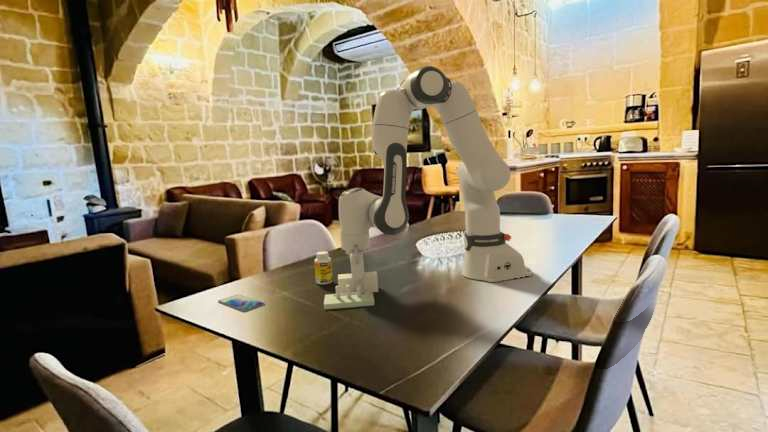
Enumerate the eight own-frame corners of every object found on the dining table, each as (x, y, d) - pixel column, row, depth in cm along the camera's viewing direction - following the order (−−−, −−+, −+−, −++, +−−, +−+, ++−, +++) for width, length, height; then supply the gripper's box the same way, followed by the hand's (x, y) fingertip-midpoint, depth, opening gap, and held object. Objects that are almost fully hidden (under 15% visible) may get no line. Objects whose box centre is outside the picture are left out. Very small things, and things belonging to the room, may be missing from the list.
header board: (372, 295, 126) (371, 279, 125) (374, 305, 118) (373, 288, 118) (325, 299, 125) (324, 283, 124) (324, 309, 117) (322, 292, 116)
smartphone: (238, 294, 133) (266, 303, 124) (238, 296, 133) (266, 306, 124) (216, 300, 128) (243, 310, 118) (217, 303, 128) (244, 313, 118)
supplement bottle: (320, 286, 138) (317, 255, 136) (313, 282, 142) (310, 252, 141) (335, 282, 141) (333, 252, 139) (328, 278, 145) (326, 249, 144)
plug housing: (377, 286, 134) (376, 271, 133) (378, 291, 129) (377, 276, 128) (339, 289, 133) (338, 274, 132) (339, 295, 128) (337, 279, 127)
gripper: (367, 248, 119) (370, 295, 121) (364, 234, 139) (366, 275, 141) (345, 250, 118) (348, 297, 120) (344, 236, 138) (347, 276, 141)
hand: (358, 285), depth 131 cm, fingers closed on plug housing, 5 cm apart
